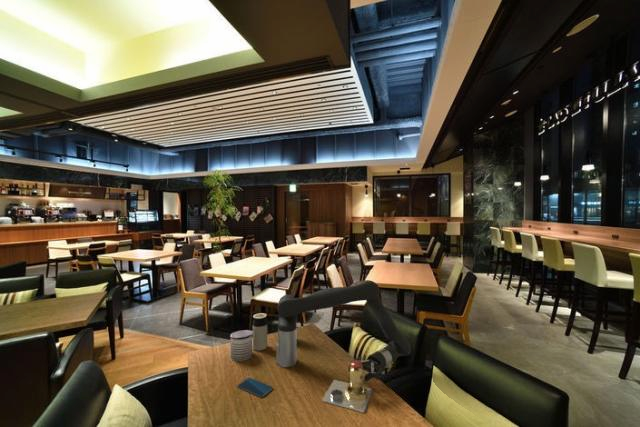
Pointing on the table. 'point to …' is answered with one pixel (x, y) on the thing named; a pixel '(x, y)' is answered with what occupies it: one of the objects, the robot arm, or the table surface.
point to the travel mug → (259, 332)
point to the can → (241, 345)
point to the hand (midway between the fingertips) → (356, 374)
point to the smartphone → (255, 387)
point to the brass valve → (356, 377)
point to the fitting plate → (347, 396)
